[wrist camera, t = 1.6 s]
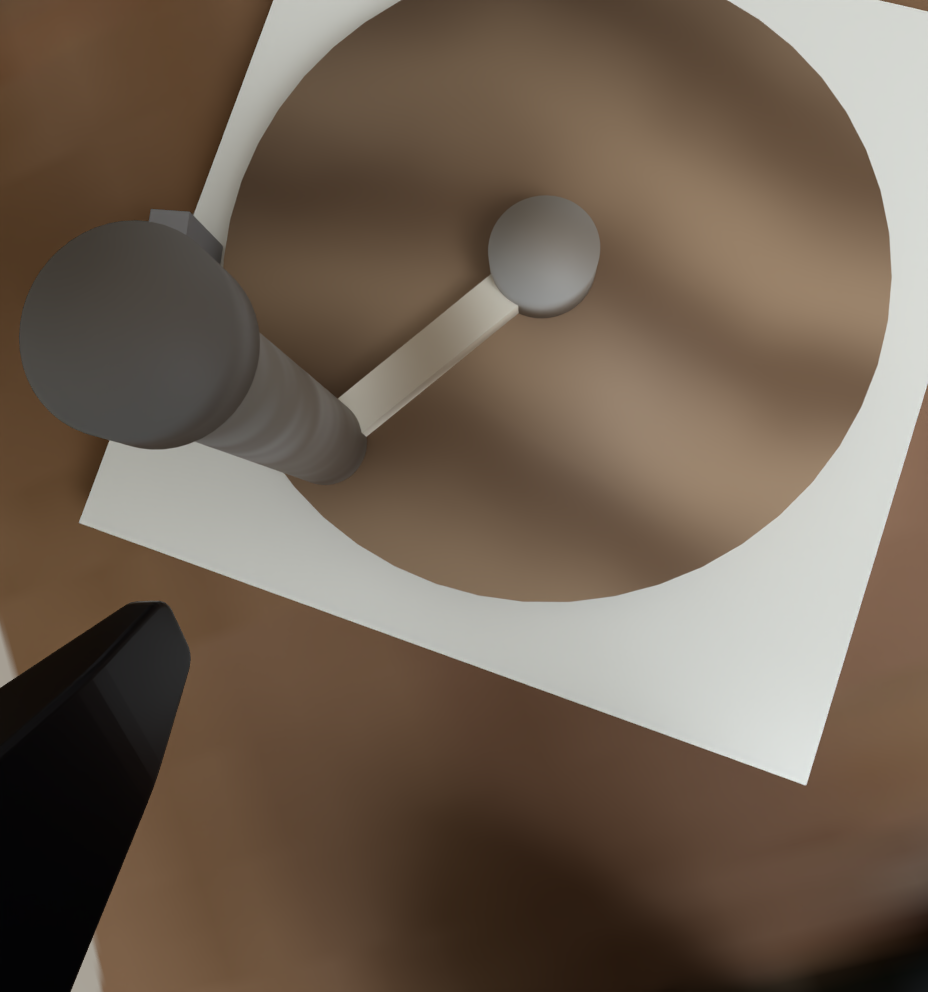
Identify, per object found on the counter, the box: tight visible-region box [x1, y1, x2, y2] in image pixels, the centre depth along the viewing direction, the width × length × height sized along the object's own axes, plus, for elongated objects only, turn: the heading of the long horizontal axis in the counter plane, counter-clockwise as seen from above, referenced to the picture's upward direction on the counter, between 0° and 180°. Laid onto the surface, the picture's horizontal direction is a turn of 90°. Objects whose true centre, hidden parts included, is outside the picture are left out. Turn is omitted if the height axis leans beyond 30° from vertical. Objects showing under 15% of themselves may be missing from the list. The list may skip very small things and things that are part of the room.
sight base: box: [79, 0, 928, 785], centre depth 21 cm, size 23×23×4 cm
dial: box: [19, 0, 892, 602], centre depth 15 cm, size 19×19×11 cm
